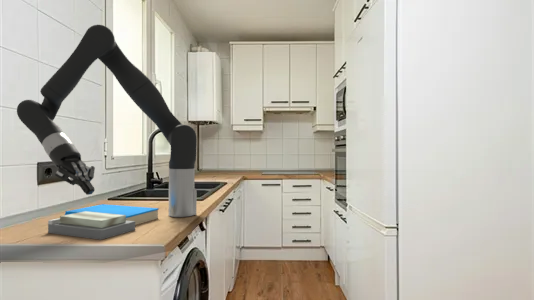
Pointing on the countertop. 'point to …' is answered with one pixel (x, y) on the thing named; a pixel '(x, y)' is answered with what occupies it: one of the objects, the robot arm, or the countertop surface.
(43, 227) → the countertop surface
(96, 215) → the silver flat block
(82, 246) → the countertop surface
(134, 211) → the book
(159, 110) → the robot arm
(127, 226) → the board
